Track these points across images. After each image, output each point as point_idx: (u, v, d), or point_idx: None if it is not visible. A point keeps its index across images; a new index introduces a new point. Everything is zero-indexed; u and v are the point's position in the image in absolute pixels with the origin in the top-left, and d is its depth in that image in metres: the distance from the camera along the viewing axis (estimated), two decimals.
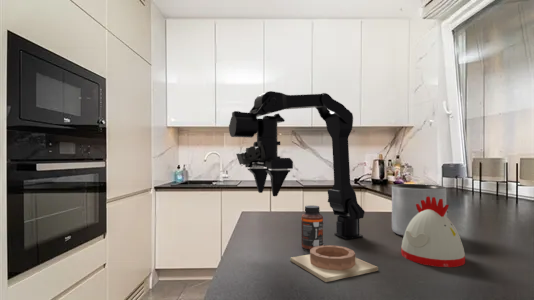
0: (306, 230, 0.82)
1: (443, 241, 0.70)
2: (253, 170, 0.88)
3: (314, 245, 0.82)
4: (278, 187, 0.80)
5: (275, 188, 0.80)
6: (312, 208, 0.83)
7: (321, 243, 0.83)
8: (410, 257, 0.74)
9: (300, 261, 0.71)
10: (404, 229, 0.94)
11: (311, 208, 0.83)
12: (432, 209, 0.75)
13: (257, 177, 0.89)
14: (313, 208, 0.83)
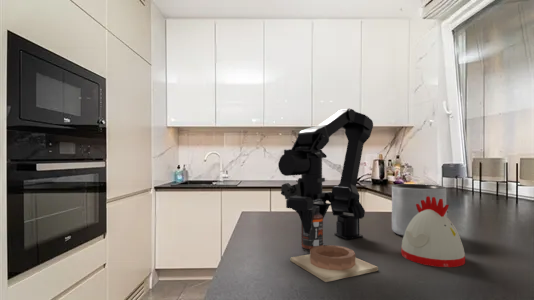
0: None
1: (443, 241, 0.70)
2: None
3: (314, 245, 0.82)
4: (307, 224, 0.81)
5: (304, 225, 0.82)
6: None
7: (321, 243, 0.83)
8: (410, 257, 0.74)
9: (300, 261, 0.71)
10: (404, 229, 0.94)
11: None
12: (432, 209, 0.75)
13: None
14: None
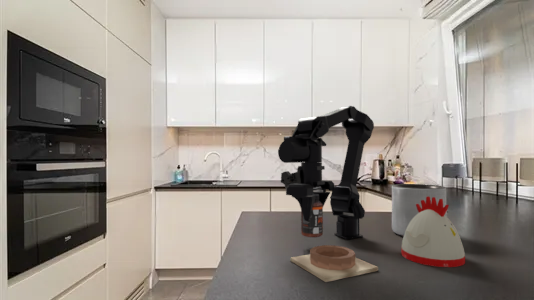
0: None
1: (443, 241, 0.70)
2: None
3: (314, 233, 0.82)
4: (307, 212, 0.81)
5: (304, 213, 0.82)
6: None
7: (321, 231, 0.83)
8: (410, 257, 0.74)
9: (300, 261, 0.71)
10: (404, 229, 0.94)
11: None
12: (432, 209, 0.75)
13: None
14: None
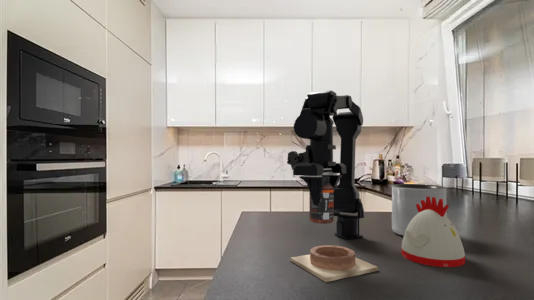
0: None
1: (443, 241, 0.70)
2: None
3: (324, 218, 0.73)
4: (316, 195, 0.73)
5: (313, 196, 0.74)
6: None
7: (331, 216, 0.74)
8: (410, 257, 0.74)
9: (300, 261, 0.71)
10: (404, 229, 0.94)
11: None
12: (432, 209, 0.75)
13: None
14: None
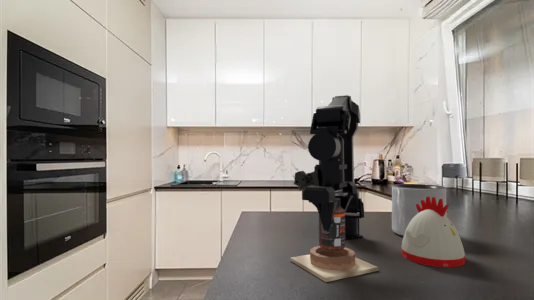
0: None
1: (443, 241, 0.70)
2: None
3: (335, 245, 0.68)
4: (327, 220, 0.67)
5: (324, 221, 0.68)
6: None
7: (343, 242, 0.69)
8: (410, 257, 0.74)
9: (300, 261, 0.71)
10: (404, 229, 0.94)
11: None
12: (432, 209, 0.75)
13: None
14: None
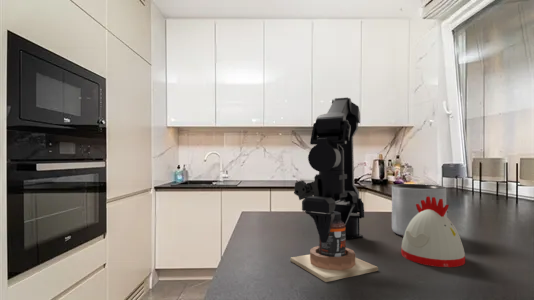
0: None
1: (443, 241, 0.70)
2: None
3: None
4: (324, 232, 0.66)
5: (321, 233, 0.66)
6: None
7: None
8: (410, 257, 0.74)
9: (300, 261, 0.71)
10: (404, 229, 0.94)
11: None
12: (432, 209, 0.75)
13: None
14: None
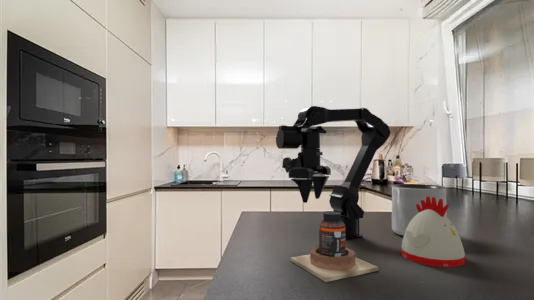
0: (326, 241, 0.68)
1: (443, 241, 0.70)
2: (311, 177, 0.98)
3: None
4: (305, 194, 0.87)
5: (303, 195, 0.88)
6: (332, 215, 0.69)
7: None
8: (410, 257, 0.74)
9: (300, 261, 0.71)
10: (404, 229, 0.94)
11: (331, 215, 0.69)
12: (432, 209, 0.75)
13: (314, 184, 0.97)
14: (334, 215, 0.69)
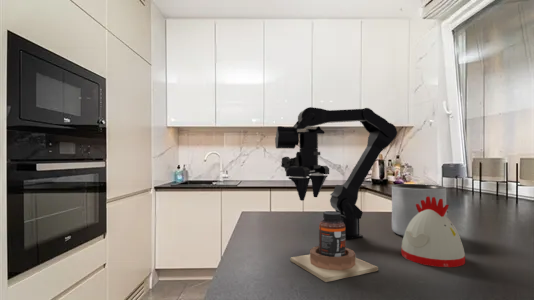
0: (326, 241, 0.68)
1: (443, 241, 0.70)
2: (310, 176, 1.01)
3: None
4: (302, 192, 0.90)
5: (300, 193, 0.91)
6: (332, 215, 0.69)
7: None
8: (410, 257, 0.74)
9: (300, 261, 0.71)
10: (404, 230, 0.94)
11: (331, 215, 0.69)
12: (432, 209, 0.75)
13: (313, 183, 1.00)
14: (334, 215, 0.69)
